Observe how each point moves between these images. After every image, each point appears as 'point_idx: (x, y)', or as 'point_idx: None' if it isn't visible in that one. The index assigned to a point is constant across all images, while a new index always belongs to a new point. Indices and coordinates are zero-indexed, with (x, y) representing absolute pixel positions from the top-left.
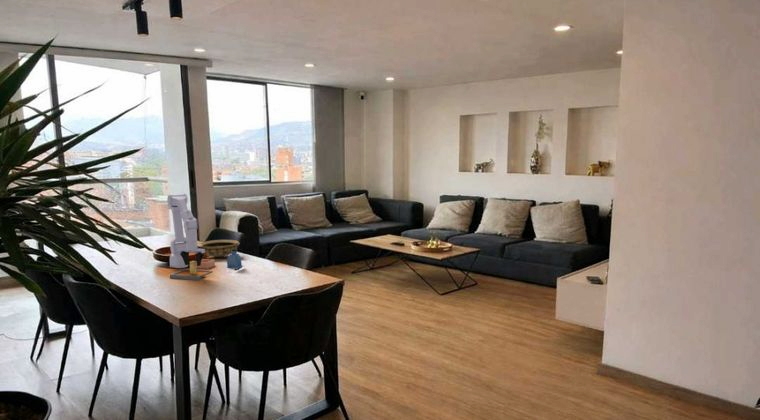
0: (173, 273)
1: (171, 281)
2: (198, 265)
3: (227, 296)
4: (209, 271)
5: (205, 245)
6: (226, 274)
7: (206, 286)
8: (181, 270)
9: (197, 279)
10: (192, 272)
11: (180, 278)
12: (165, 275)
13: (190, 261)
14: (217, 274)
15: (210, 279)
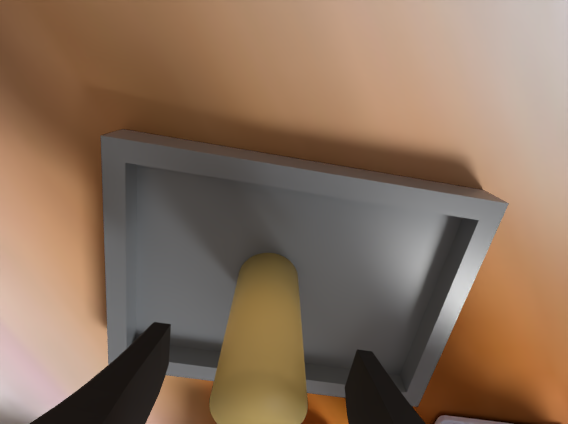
0: (478, 250)
1: (420, 49)
2: (147, 329)
3: None
4: (126, 346)
5: None
6: (4, 346)
7: None
8: (430, 360)
9: (139, 133)
10: (258, 271)
11: (358, 169)
12: (557, 280)
13: (297, 410)
14: (83, 341)
15: (23, 174)
